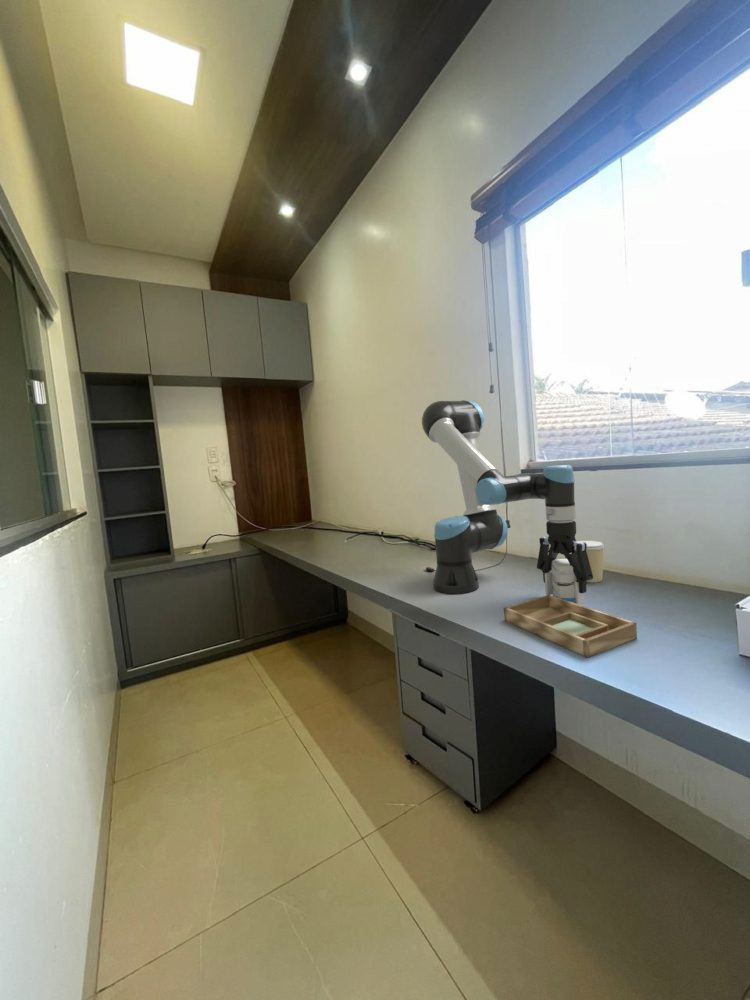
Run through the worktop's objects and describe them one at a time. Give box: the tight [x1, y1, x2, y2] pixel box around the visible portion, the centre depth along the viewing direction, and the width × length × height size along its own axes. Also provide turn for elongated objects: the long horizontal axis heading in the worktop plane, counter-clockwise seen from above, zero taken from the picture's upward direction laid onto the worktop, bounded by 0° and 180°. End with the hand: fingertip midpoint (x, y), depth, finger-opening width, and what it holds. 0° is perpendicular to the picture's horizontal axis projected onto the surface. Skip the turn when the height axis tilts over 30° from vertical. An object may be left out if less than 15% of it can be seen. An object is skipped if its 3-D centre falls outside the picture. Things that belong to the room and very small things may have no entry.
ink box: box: [551, 558, 577, 604], centre depth 112 cm, size 8×5×12 cm, turn 168°
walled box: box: [503, 595, 638, 659], centre depth 96 cm, size 24×16×4 cm, turn 24°
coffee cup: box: [574, 540, 605, 583], centre depth 130 cm, size 9×9×12 cm
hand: (564, 598), depth 112 cm, fingers closed on ink box, 9 cm apart
